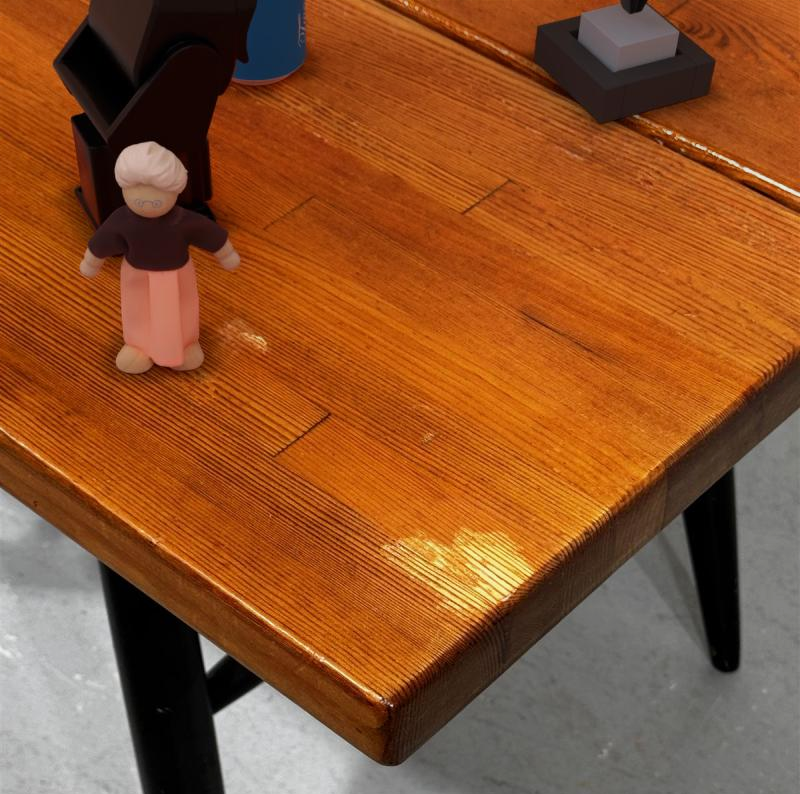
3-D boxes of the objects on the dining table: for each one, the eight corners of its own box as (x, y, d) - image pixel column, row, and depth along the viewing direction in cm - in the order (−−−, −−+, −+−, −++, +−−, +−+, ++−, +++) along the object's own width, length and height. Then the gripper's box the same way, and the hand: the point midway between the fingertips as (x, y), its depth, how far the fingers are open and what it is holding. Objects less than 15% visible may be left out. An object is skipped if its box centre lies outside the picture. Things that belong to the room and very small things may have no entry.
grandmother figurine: (102, 392, 73) (68, 182, 64) (91, 343, 76) (56, 134, 67) (252, 366, 75) (239, 158, 66) (236, 319, 77) (222, 112, 68)
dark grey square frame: (600, 124, 91) (605, 89, 89) (533, 60, 96) (536, 25, 94) (709, 94, 94) (716, 59, 92) (638, 33, 99) (643, -1, 97)
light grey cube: (610, 103, 93) (619, 46, 90) (573, 68, 96) (581, 12, 93) (669, 87, 94) (679, 31, 91) (631, 53, 97) (640, -2, 94)
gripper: (608, -164, 72) (572, 109, 84) (900, -222, 78) (830, 40, 90) (497, -245, 79) (478, 18, 90) (775, -293, 85) (724, -41, 96)
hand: (631, 10), depth 92 cm, fingers closed
